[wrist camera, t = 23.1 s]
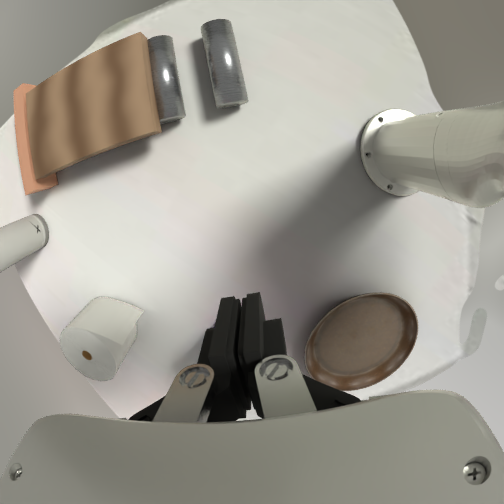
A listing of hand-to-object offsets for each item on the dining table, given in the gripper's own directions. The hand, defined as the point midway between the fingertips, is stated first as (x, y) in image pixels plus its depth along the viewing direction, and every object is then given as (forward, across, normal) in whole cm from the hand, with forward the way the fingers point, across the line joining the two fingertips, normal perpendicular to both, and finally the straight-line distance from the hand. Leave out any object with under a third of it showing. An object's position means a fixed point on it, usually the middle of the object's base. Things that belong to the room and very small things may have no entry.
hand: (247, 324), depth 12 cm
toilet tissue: (+27, +28, +14) cm, 42 cm away
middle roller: (+27, +7, -20) cm, 34 cm away
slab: (+23, +19, -19) cm, 36 cm away
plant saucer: (+28, -14, +25) cm, 40 cm away
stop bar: (+27, +31, -20) cm, 46 cm away
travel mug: (+27, +38, -5) cm, 47 cm away
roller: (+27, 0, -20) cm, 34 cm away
